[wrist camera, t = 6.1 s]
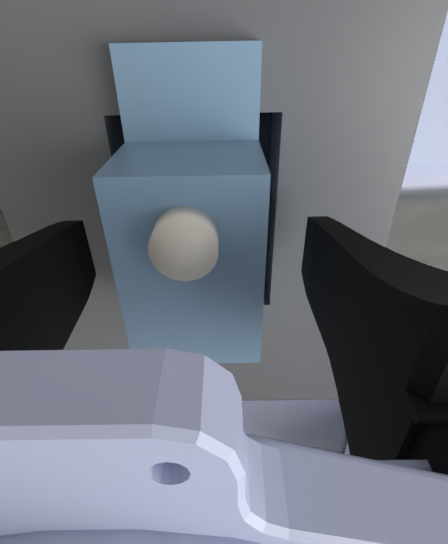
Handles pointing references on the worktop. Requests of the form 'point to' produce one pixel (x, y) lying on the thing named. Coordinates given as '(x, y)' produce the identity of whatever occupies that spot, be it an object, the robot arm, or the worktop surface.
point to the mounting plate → (273, 98)
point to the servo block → (188, 197)
